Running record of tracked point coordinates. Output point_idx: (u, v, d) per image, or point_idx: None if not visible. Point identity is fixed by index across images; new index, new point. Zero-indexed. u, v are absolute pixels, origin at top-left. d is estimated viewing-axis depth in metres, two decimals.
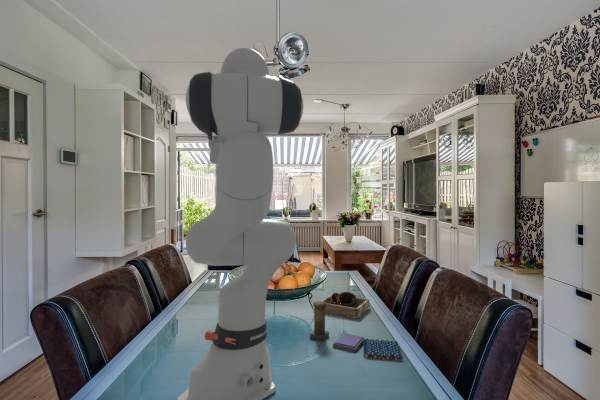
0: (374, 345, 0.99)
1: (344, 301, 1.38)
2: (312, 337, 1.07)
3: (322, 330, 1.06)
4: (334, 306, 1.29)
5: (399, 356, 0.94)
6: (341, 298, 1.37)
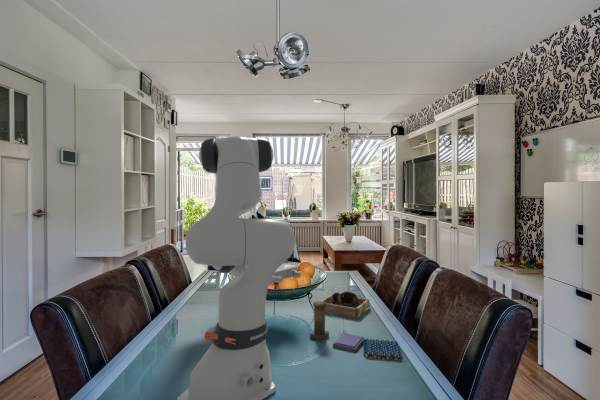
0: (374, 345, 0.99)
1: (345, 301, 1.38)
2: (312, 337, 1.07)
3: (322, 330, 1.06)
4: (334, 306, 1.29)
5: (399, 356, 0.94)
6: (342, 298, 1.38)
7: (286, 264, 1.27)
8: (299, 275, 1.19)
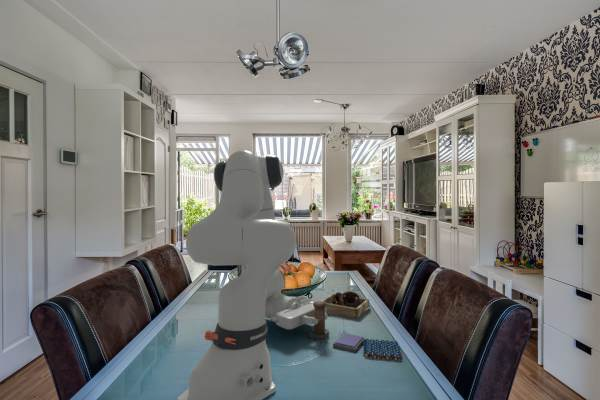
0: (374, 345, 0.99)
1: (347, 301, 1.39)
2: (312, 337, 1.07)
3: (322, 330, 1.06)
4: (334, 306, 1.29)
5: (399, 356, 0.94)
6: (344, 298, 1.38)
7: (314, 301, 1.19)
8: (326, 317, 1.09)
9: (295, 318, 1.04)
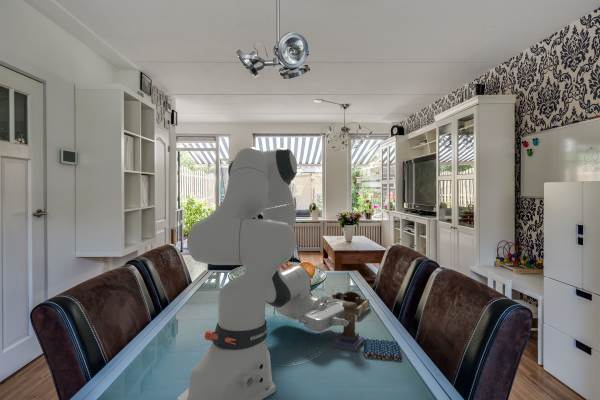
0: (374, 345, 0.99)
1: (348, 301, 1.39)
2: (342, 339, 1.02)
3: (352, 332, 1.02)
4: None
5: (399, 356, 0.94)
6: (345, 298, 1.38)
7: (340, 302, 1.15)
8: (355, 319, 1.05)
9: (325, 320, 1.00)
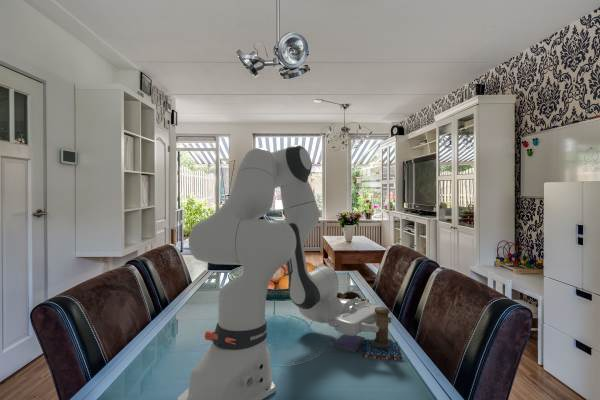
0: None
1: None
2: (374, 346, 0.97)
3: (385, 338, 0.97)
4: None
5: None
6: (344, 298, 1.38)
7: (369, 304, 1.10)
8: (391, 320, 1.01)
9: (357, 323, 0.95)
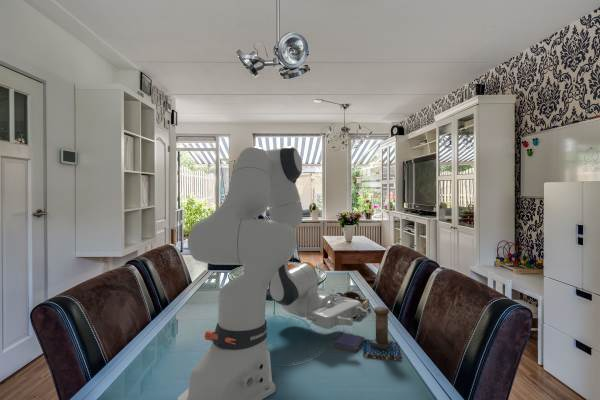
0: None
1: None
2: (374, 346, 0.97)
3: (385, 339, 0.97)
4: None
5: None
6: None
7: (348, 299, 1.15)
8: (367, 314, 1.06)
9: (333, 317, 1.00)
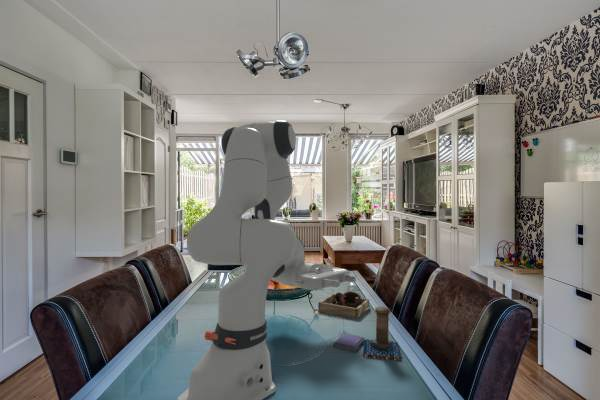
0: None
1: (347, 301, 1.39)
2: (374, 346, 0.97)
3: (385, 339, 0.97)
4: (334, 306, 1.29)
5: None
6: (344, 298, 1.38)
7: (336, 268, 1.17)
8: (354, 279, 1.09)
9: (320, 279, 1.02)
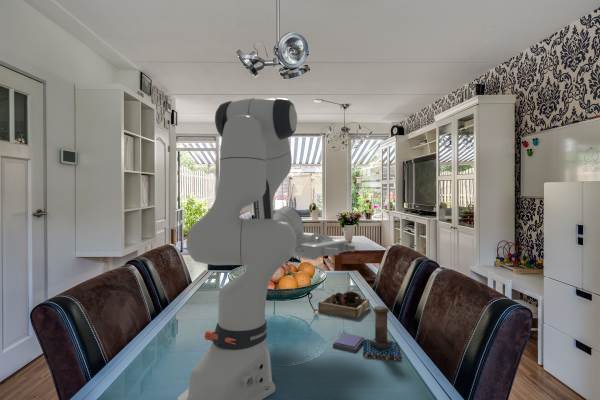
0: None
1: (347, 301, 1.39)
2: (372, 344, 0.98)
3: (383, 338, 0.97)
4: (334, 306, 1.29)
5: None
6: (344, 298, 1.38)
7: (336, 239, 1.18)
8: (354, 249, 1.10)
9: (320, 247, 1.03)
